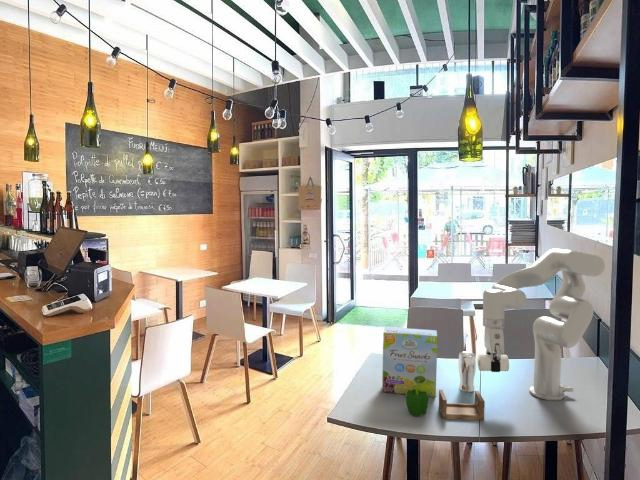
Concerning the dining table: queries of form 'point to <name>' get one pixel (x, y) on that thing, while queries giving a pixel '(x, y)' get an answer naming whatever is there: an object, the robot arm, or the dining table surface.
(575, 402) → the dining table surface
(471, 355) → the beer glass
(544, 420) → the dining table surface
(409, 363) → the snack box
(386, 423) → the dining table surface
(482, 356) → the roll
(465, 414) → the cradle
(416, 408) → the bell pepper
